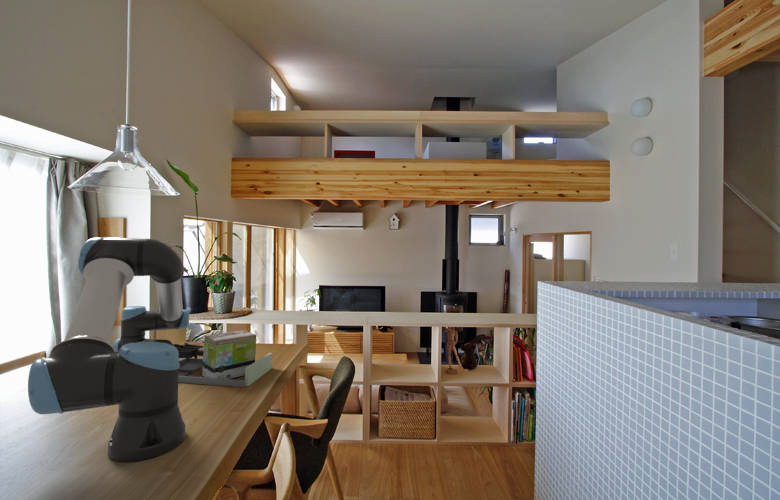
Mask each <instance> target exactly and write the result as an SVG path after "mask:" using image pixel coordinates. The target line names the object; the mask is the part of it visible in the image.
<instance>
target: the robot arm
mask: <svg viewBox="0 0 780 500" xmlns="http://www.w3.org/2000/svg"><path fill="white" fill-rule="evenodd" d="M77 262H78V264H77V265H78V269H79V273H80V274H81V275H82V276H83V277H84V278H85V280H86V281H85V284H84V286H83V289H82V291H81V295H80V297H79V300H78V303H77V305H76V308H75V311H74V314H73V317H72V318H71V320H70V324H69V327H68V330H67V333H66V334H65V336H64V337H65V338H64V340H62V341H61V342H58V343H57V344H55V345H54V346H53V347H52V349H51V350H50V353H49V356H47V357H44V356H42V357H40V358H37V359H35V360H34V361H33V362H32V364H31V366H30V369H29V372H28V377H27V378H28V379H27V394H28V395H27V396H28V402H29V405H30V406H31V409H32V410H33V412H34V413H36V414H38V415H49V414H50V415H51V414H61V415H62V414H64V413H67V412H74V411H75V412H76V411H81V410H88V409H95V408H97V409H98V408H102V407H103V408H105V407H111V406H116V405H117V406H118V416H117V420H116V422H115V425H114V427H113V430H112V432H111V436H110V438H109V440H108V442H107V455H108V458H109V459H111V460H113V461H116V462H124V463H125V462H126V463H127V462H138V461H139V462H140V461H143V460H147V459H152V458H155V457H158V456H161V455H163V454H166V453H168V452H170V451H172V450H174V449H175V448H177V447H178V446H179V445H180V444H181V443H182V442H184V440H185V438H186V424H185V422H184V420H183V419H184V418H183V417H182V416H183V415H182V413H181V410H180V408H179V382H178V369H179V367H180V363H179V360H180V359H183V358H194V359H197V358H198V357H201V358H203V354H204V345H199V344H198V345H196V344H191V343H188V342H184V343H183V344H179V343H174V344H173V343H172V341H171V340H170V339H161V338H160V339H159V338H146V332H152V331H154V332H155V331H165V330H166V331H167V330H168V331H169V330H180V329H182V330H183V329H187V328H188V327H189V325H190V310H189V309H184V308H183V307H184V306H183V305H184V304H183V292H182V291H183V289H182V278H183V276H184V273H185V268H184V264H183V260H182V258H181V256H180V255H179V254H178V253H177V251H175V250H174V249H173V248H172V247H171V246H170V245H168V244H166V243H165V242H164V241H160V240H157V239H154V238H134V237H133V238H132V237H131V238H130V237H112V236H111V237H109V236H103V237H102V236H101V237H91V238H88V240H86V241H85V242H84V243H83V245H82V247H81V249H80V252H79V257H78V261H77ZM145 276H146V277H150V278H151V279H152V280H153V281H154V284H155V290H156V297H157V302H158V309H159V310H147V308H146V306H143V305H131V306H130V305H129V306H125V307H124V308H122V310H121V317H120V337H119V338H117V339H116V340H115V341H114V342H113V345H111V339H112V336H113V332H114V329H115V324H116V321H117V317H118V313H119V310H120V305H121V301H122V298H123V294H124V290H125V286H127V285H128V286H129V285H130V283H131V282H132V281H133V280H134V277H145Z"/></svg>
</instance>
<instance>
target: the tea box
mask: <svg viewBox="0 0 780 500" xmlns="http://www.w3.org/2000/svg"><path fill="white" fill-rule="evenodd" d="M203 340H204V341H203V348H204V354H203V357H202V358H203V367H202V374H201V375H202V377H208V378H223V379H234V378H238V377H243V376H245V368H246V367H248V366H250V365H251V364H253V363H254V362H255V361H256V350H257V348H256V347H257V334H255V333H253V332H250V331H248V330H245V329H242V330H235V331H234V330H233V331H228V332H221V333H214V334H207V335H204V339H203Z"/></svg>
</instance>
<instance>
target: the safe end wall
mask: <svg viewBox="0 0 780 500" xmlns="http://www.w3.org/2000/svg"><path fill="white" fill-rule="evenodd" d="M255 361H256V362H254V363H253V364H251V365H250V366H248V367H246V368H245V375H244V380H245V386H244V387H250V385H252V384H254V382H256V381H257V380H259V379H260V378H261V377H262V376H264V375H265V374H266V373H268V372H269V371H270V370H272V369H273V366H272V365H273V353H272V352H269V353H266V354H265V355H264V356H262V357H261V358H259V359H258V360H255Z"/></svg>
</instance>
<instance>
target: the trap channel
mask: <svg viewBox="0 0 780 500" xmlns="http://www.w3.org/2000/svg"><path fill="white" fill-rule="evenodd" d="M256 361H257V360H255V362H256ZM179 363H180V367H179V369H178V384H179V383H180V384H181V383H183V384H193V385H195V384H196V385H206V386H207V385H209V386H220V387H221V386H223V387H225V386H226V387H237V388H244V387H246V386H245V379H238V378H237V379H234V378H230V379H223V378H208V377H204V376H194V375H193V376H190V374H192V373H194V372H196V371H198V370H200V369H203V357H197V359H194V357H192V358H180V359H179Z"/></svg>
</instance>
